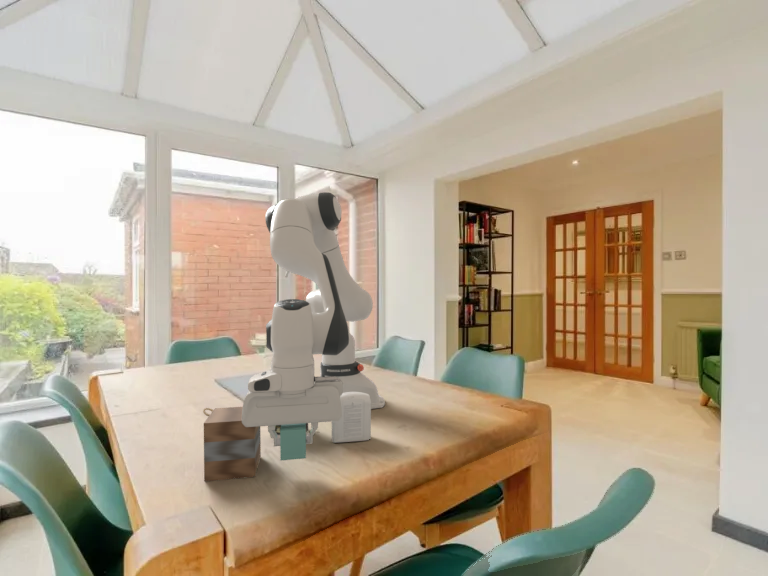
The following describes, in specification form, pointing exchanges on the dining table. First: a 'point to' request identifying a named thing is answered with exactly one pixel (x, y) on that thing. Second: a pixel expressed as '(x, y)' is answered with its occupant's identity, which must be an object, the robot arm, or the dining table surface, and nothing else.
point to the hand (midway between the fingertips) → (293, 444)
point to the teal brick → (293, 441)
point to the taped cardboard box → (230, 446)
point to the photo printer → (353, 418)
